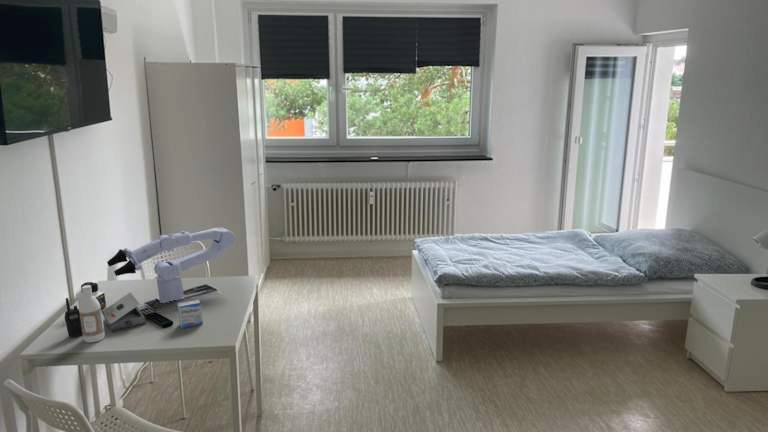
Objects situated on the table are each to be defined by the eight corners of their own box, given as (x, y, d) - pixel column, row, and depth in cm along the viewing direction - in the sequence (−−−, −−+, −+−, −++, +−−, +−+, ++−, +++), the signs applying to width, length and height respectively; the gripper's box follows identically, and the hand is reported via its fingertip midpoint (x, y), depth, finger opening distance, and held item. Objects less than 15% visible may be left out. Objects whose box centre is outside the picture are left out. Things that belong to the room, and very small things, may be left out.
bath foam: (81, 344, 208) (72, 290, 204) (86, 336, 215) (78, 284, 210) (102, 341, 210) (94, 288, 205) (107, 333, 217) (99, 282, 212)
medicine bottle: (95, 315, 234) (90, 286, 231) (79, 314, 235) (74, 285, 233) (107, 308, 241) (102, 280, 238) (91, 307, 242) (87, 279, 239)
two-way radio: (68, 339, 213) (62, 300, 209) (66, 335, 216) (60, 296, 213) (85, 334, 216) (79, 296, 213) (83, 330, 220) (77, 292, 216)
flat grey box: (135, 310, 237) (134, 303, 236) (147, 326, 222) (146, 318, 221) (103, 318, 231) (102, 311, 230) (112, 334, 215) (111, 327, 215)
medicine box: (181, 328, 219) (178, 306, 217) (179, 324, 223) (176, 303, 221) (203, 324, 222) (200, 302, 220) (200, 320, 226) (198, 298, 224)
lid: (131, 293, 233) (129, 290, 232) (139, 304, 221) (137, 301, 220) (102, 313, 228) (99, 309, 227) (109, 325, 216) (106, 322, 216)
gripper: (134, 237, 241) (101, 252, 235) (148, 254, 232) (114, 270, 226) (139, 250, 245) (107, 265, 239) (154, 267, 236) (120, 283, 230)
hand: (111, 268), depth 233 cm, fingers open, 7 cm apart
